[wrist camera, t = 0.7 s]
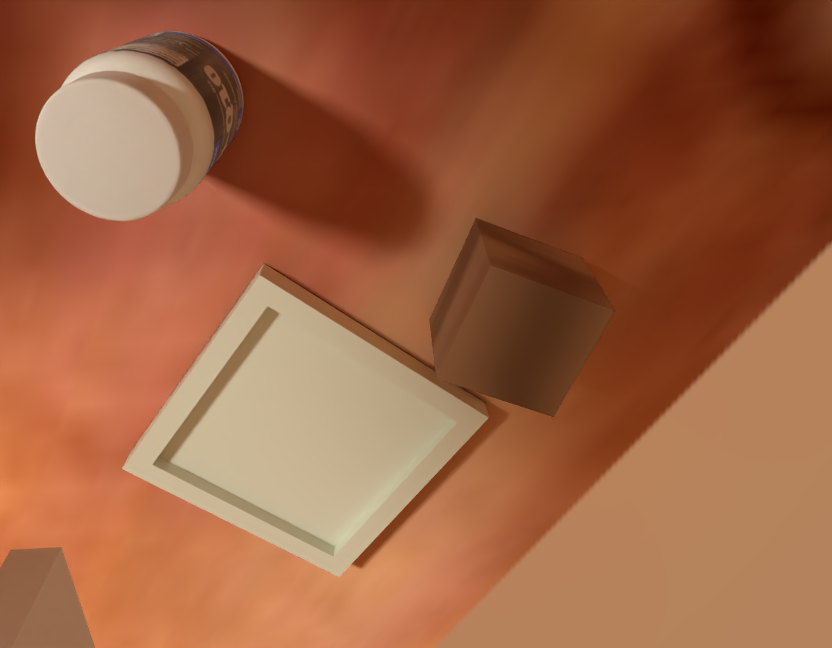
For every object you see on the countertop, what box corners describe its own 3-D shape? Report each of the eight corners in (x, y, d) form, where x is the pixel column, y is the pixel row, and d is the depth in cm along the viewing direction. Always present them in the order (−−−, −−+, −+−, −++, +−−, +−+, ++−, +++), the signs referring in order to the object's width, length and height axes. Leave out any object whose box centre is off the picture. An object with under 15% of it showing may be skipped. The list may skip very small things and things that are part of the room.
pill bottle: (245, 164, 29) (198, 243, 22) (121, 152, 29) (30, 228, 21) (246, 35, 27) (193, 75, 20) (112, 20, 27) (6, 55, 19)
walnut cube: (429, 318, 33) (436, 378, 28) (475, 217, 31) (490, 265, 26) (531, 353, 34) (553, 416, 29) (583, 258, 32) (614, 310, 27)
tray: (130, 452, 35) (122, 468, 34) (263, 263, 31) (259, 275, 30) (340, 559, 39) (339, 577, 38) (485, 403, 35) (488, 417, 34)
